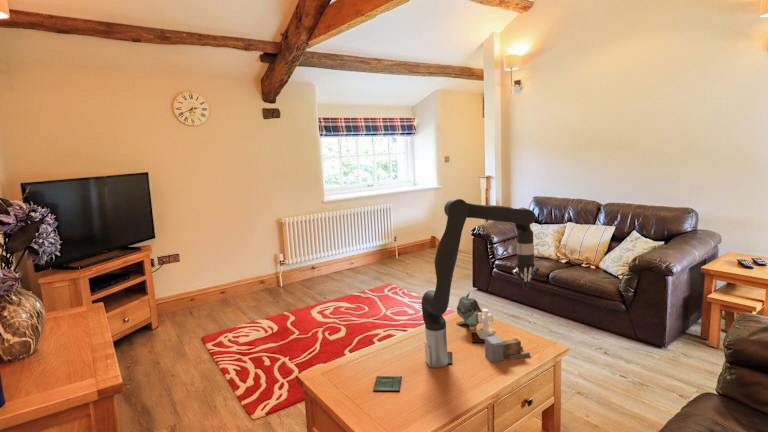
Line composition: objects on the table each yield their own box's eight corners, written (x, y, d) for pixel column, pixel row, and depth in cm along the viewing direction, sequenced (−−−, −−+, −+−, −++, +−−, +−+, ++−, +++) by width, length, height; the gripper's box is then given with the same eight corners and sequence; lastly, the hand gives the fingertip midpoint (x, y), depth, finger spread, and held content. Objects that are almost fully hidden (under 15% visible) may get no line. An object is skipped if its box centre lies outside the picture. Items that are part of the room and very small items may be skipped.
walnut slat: (492, 361, 191) (492, 346, 190) (489, 357, 194) (488, 343, 193) (521, 356, 194) (520, 341, 192) (517, 352, 197) (516, 338, 196)
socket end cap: (492, 363, 189) (491, 344, 187) (485, 356, 195) (484, 337, 194) (503, 360, 190) (503, 342, 189) (496, 353, 197) (495, 335, 195)
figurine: (498, 337, 213) (497, 308, 211) (485, 343, 208) (484, 314, 205) (486, 332, 219) (485, 304, 216) (474, 338, 213) (473, 310, 211)
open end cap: (509, 359, 191) (509, 356, 190) (502, 352, 197) (502, 349, 197) (529, 355, 193) (529, 352, 192) (521, 349, 199) (521, 346, 199)
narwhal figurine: (456, 335, 219) (454, 301, 216) (456, 322, 234) (455, 291, 231) (484, 335, 216) (483, 301, 213) (483, 322, 231) (482, 291, 228)
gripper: (533, 248, 198) (534, 284, 201) (507, 251, 195) (508, 288, 198) (543, 252, 191) (543, 289, 193) (516, 255, 188) (517, 293, 191)
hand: (526, 288), depth 196 cm, fingers closed
